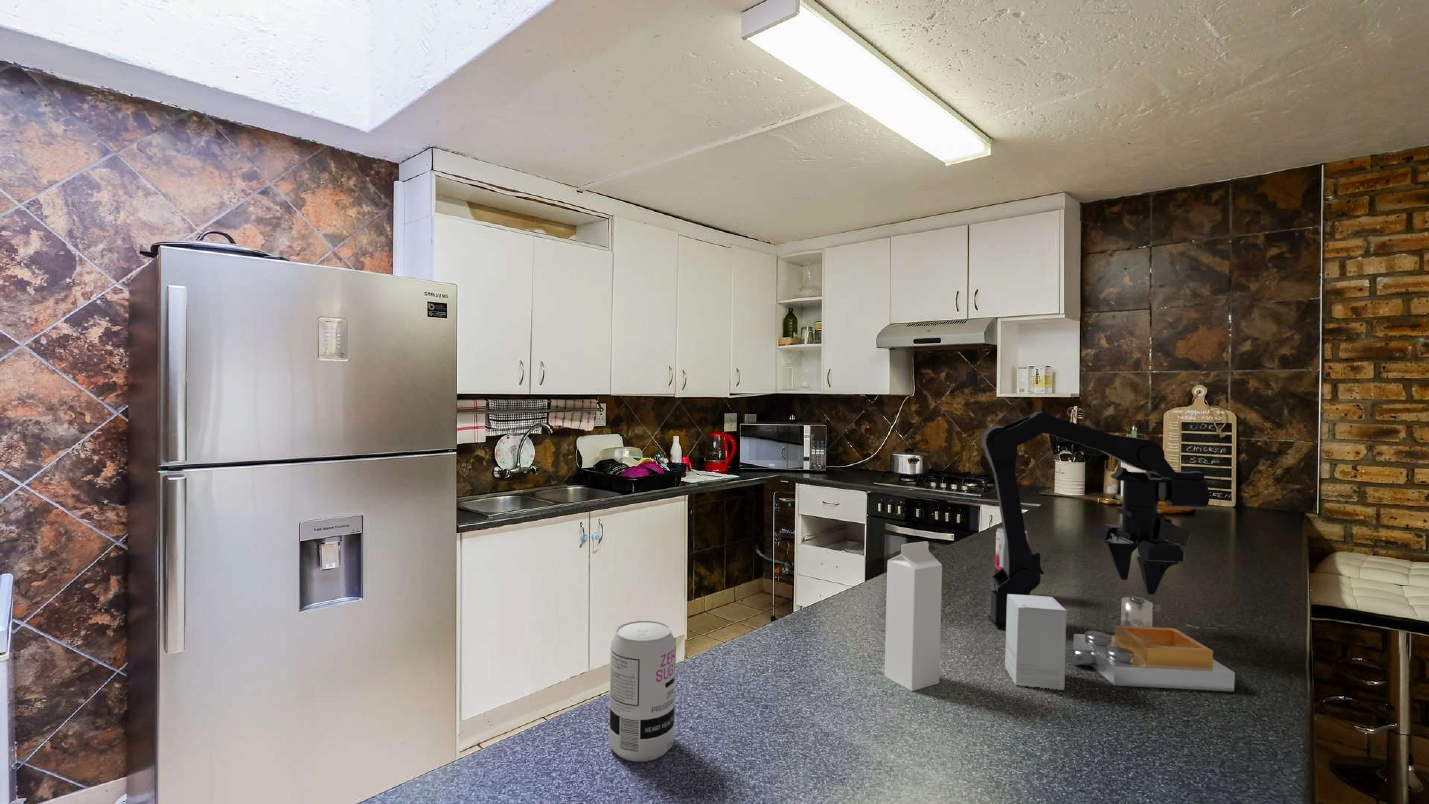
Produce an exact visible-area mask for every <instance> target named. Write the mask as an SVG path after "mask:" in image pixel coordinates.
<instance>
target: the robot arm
mask: <svg viewBox="0 0 1429 804" xmlns="http://www.w3.org/2000/svg"><path fill="white" fill-rule="evenodd" d="M1042 434H1047V435H1050V436H1053V437H1056V438H1059V439H1063V440H1066V441H1069V442H1072V443H1075V444H1078V445H1082V446H1085V447H1088V448H1092V449H1094V450H1097V451H1100V452H1103V454H1106V455H1108V456H1110V457H1111V458H1113V459H1115V460H1117V461H1119V462H1121V463H1123V464H1125V465H1127V466H1129V467H1130V468H1131V467H1132V468H1135V469H1139V470H1142V471H1143V472H1142V471H1129V470H1128V469H1127V468H1126V467H1123V466H1122V467H1120V468H1118V470H1117V471H1115V472H1114V473H1112V474H1111V475H1110V478H1111V479H1114V480H1116V481H1121V482H1122V483H1123V484H1122V505H1121V506H1122V507H1120V506H1119V507H1117V510H1116V512H1117V513H1118V514H1120V515H1121V524H1116V523H1115V524H1113V523H1111V524H1110V523H1103V524H1102V525H1101V526H1100V527H1098V538H1099V539H1101V543H1102V544H1103V545H1104V546H1105V549H1106V551H1107V553H1108V555H1109V557H1110V559H1111V561H1112V563H1113V565H1114V567H1115V570H1116V572H1117V574H1118V576H1119V579H1120V580H1123V581H1126V580H1128V578H1129V575H1130V569H1131V563H1132V555H1133V552H1134V551H1136V549H1137V552H1138V555H1139V556H1136V558H1137V563H1138V566H1139V569H1140V573H1141V576H1142V580H1143V584H1144V587H1145V590H1146V593H1147V594H1148V595H1153V596H1154V595H1155V594H1156V593H1157V590H1158V588H1159V585H1160V584H1161V582H1162V579H1163V577H1164V576H1165V573H1166V571H1167V569H1169V568H1171V567H1172V566H1174V565H1175V566H1177V565H1179V564H1180V563H1182V562H1183V563H1184V562H1185V560H1186V550H1185V549H1184V548H1186V547H1187V545H1188V543H1189V541H1190V538H1191V537H1192V535H1193V531H1192V530H1188V529H1186V528H1184V527H1181V526H1178V525H1177V524H1176V525H1175V524H1173V520H1172V519H1171V518H1168V517H1166V515H1165V514H1164V512H1160V511H1159V500H1160V501H1162V502H1164V503H1165V505H1166V506H1167V507H1171V508H1185V509H1187V508H1189V509H1190V508H1191V509H1203V510H1204V509H1206V508H1207V507H1208V505H1209V502H1210V498H1211V497H1210V496H1211V493H1210V491H1209V487H1208V483H1207V481H1206V479H1205V473H1204V472H1202V471H1195V470H1193V471H1178V470H1177V471H1176V470H1175V469H1174V468H1173V467H1172V466H1171V464H1170V463H1169V462H1168V461H1167V459H1166V457H1165V456H1166V455H1165V450H1164V449H1163V447H1162V445H1161V444H1160V443H1158V442H1157V441H1154V440H1151V439H1147V438H1142V437H1134V436H1127V435H1119V434H1114V433H1108V432H1106V431H1101V430H1098V429H1095V428H1092V427H1088V426H1086V425H1083V424H1079V423H1076V422H1073V421H1070V420H1066V419H1063V418H1060V417H1057V416H1054V415H1051V413H1050V414H1049V412H1045V411H1044V412H1043V411H1036V412H1032V413H1031V414H1030V415H1027V416H1026V417H1023V418H1020V419H1017V420H1015V421H1013V422H1010V423H1008V424H1006V425H1004V426H1000V425H992V426H990V427H988V428H986V429H985V431H984V432H983V433H982V435H981V445H982V447H983V450H984V453H985V456H986V459H987V460H988V462H989V465H990V467H991V470H992V473H993V477H994V483H995V488H996V494H997V500H998V506H999V511H1000V512H999V513H1000V518H1001V524H1002V525H1001V526H1002V528H1003V531H1004V537H1005V545H1004V553H1003V568H1002V569H1000V570H999V571H998V572H997V573H995V572H994V574H993V575H992V576H991V581H992V585H993V586H994V590H995V588H996V590H995V591H994V590H990V615H986V616H987V620H989V622H990V623H991V624H992V625H993V626H994V627H995V628H996V629H998V630H1006V614H1007V594H1015V595H1031V592H1032V591H1033V590H1036V588H1037V587H1038V586H1039V585H1040V584H1041V575H1045V573H1044V572H1043V569H1042V566H1041V553H1040V552H1039V551H1038V550H1037V549H1036V548H1035V547H1034V546H1029V541H1028V542H1027V538H1026V532H1025V531H1026V528H1025V521H1024V520H1025V519H1024V516H1023V510H1022V504H1021V499H1020V492H1019V491H1020V490H1019V485H1018V480H1017V474H1016V470H1017V469H1016V467H1017V461H1018V446H1020V445H1023V444H1025V443H1027V442H1029V441H1030V440H1033V439H1035V438H1036V437H1038V436H1040V435H1042ZM1144 471H1146V472H1147V473H1149V474H1150V473H1151V474H1153V475H1157V476H1160V477H1149V476H1148V474H1147V473H1146V472H1144ZM1183 547H1184V548H1183Z"/></svg>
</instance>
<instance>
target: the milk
mask: <svg viewBox="0 0 1429 804" xmlns="http://www.w3.org/2000/svg"><path fill="white" fill-rule="evenodd" d="M929 547H930V546H929V541H920V542H919V541H918V542H911V543H904V544H902V545H901V547H900V554H899V555H896V556H894V557H892V558H890V559H888V560H887V566H886V567H887V568H886V569H887V570H886V572H887V574H886V604H885V606H886V608H885V609H886V611H885V643H884V645H885V646H884V647H885V648H884V649H885V651H884V656H885V657H884V677H885V678H887V679H889V680H890V681H892V682H894V683H896V684H898V685H899V686H901V687H903V688H905V689H907V690H909V691H910V692H914V691H917V690H920V689H924V688H928V687H932V686H934V685H938V684H939V683H940V659H941V658H940V657H941V656H940V653H941V621H942V618H941V616H942V614H941V613H942V585H943V584H942V583H943V578H942V577H943V564H942V563H941V562H940V561H939V560H938V559H937V558H936V557H935V556H934V555H933V554H932V552H930V550H929Z"/></svg>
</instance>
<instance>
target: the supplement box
mask: <svg viewBox="0 0 1429 804" xmlns="http://www.w3.org/2000/svg"><path fill="white" fill-rule="evenodd" d="M1067 612H1068V611H1067V609H1066V608H1064V607H1063V605H1061V604H1060V602H1058V600H1056V599H1055V598H1054V597H1053V596H1044V595H1032V594H1029V595H1015V594H1007V614H1006V629H1005V655H1004V668H1005V670H1006V672H1007V673H1008V675H1009V676H1010V678H1011V680H1012V681H1013V683H1014V684H1015V686H1018V685H1019V687H1026V686H1028V688H1035V687H1040V688H1039V689H1045V688H1047V689H1048V688H1049V689H1048V690H1056V689H1057V690H1058V691H1064V690H1065V681H1066V680H1065V678H1066V676H1065V675H1066V647H1067V645H1066V642H1067V641H1066V640H1067ZM1047 689H1046V690H1047ZM1057 690H1056V691H1057Z"/></svg>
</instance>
